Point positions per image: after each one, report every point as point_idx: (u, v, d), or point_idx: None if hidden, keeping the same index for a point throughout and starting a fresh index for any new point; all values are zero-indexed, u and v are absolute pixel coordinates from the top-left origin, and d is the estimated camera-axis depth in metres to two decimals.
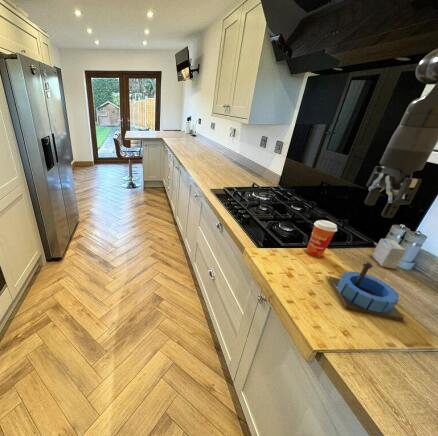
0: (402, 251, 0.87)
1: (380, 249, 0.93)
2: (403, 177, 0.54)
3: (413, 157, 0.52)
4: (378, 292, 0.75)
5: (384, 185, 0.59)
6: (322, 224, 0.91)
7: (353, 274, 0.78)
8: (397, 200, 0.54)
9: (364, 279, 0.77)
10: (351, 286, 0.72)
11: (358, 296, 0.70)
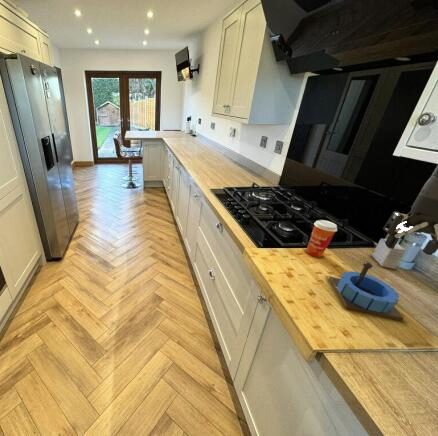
0: (402, 251, 0.87)
1: (380, 249, 0.93)
2: None
3: (418, 199, 0.61)
4: (378, 292, 0.75)
5: None
6: (322, 224, 0.91)
7: (353, 274, 0.78)
8: None
9: (364, 279, 0.77)
10: (351, 286, 0.72)
11: (358, 296, 0.70)
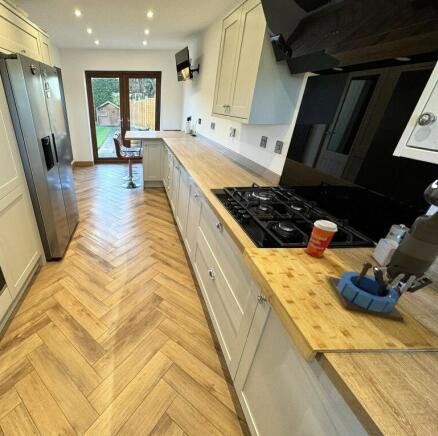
0: None
1: (380, 249, 0.93)
2: (385, 266, 0.70)
3: (396, 253, 0.68)
4: None
5: None
6: (322, 224, 0.91)
7: (353, 274, 0.78)
8: None
9: (364, 279, 0.77)
10: (351, 286, 0.72)
11: (358, 296, 0.70)
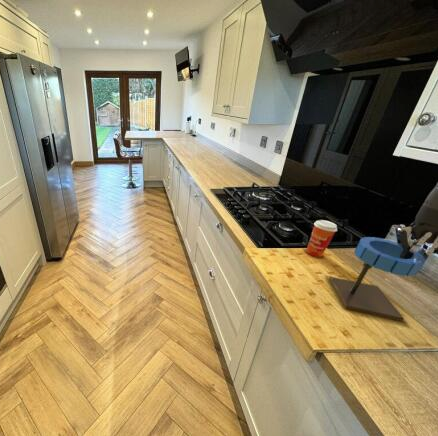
0: None
1: None
2: (409, 226, 0.64)
3: (422, 210, 0.62)
4: None
5: None
6: (322, 224, 0.91)
7: (372, 239, 0.72)
8: None
9: (384, 244, 0.71)
10: (371, 249, 0.66)
11: (380, 259, 0.64)
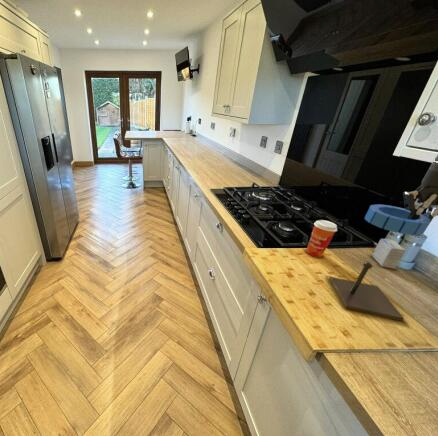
0: (402, 251, 0.87)
1: (380, 249, 0.93)
2: (416, 190, 0.70)
3: (428, 174, 0.67)
4: None
5: None
6: (322, 224, 0.91)
7: (381, 206, 0.78)
8: None
9: (392, 210, 0.77)
10: (381, 213, 0.72)
11: (389, 221, 0.70)
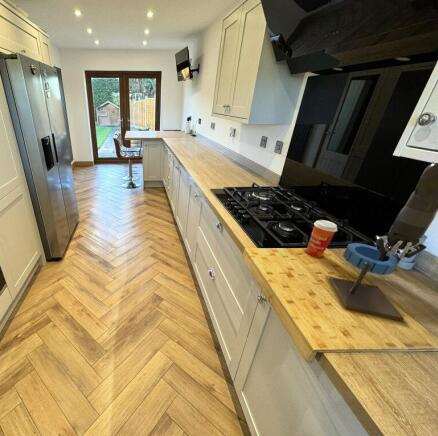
0: None
1: None
2: None
3: (395, 222, 0.78)
4: None
5: None
6: (322, 224, 0.91)
7: (357, 245, 0.88)
8: None
9: (367, 249, 0.88)
10: (356, 253, 0.83)
11: (362, 261, 0.81)
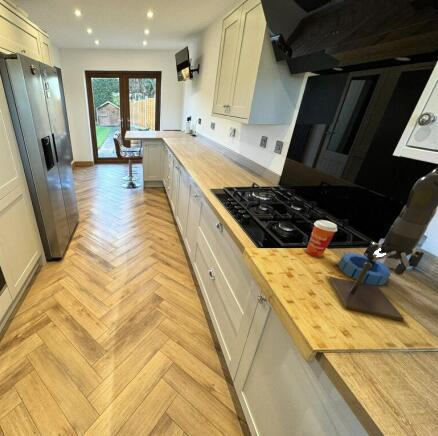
0: None
1: None
2: (381, 244, 0.82)
3: (389, 233, 0.80)
4: (374, 269, 0.87)
5: None
6: (322, 224, 0.91)
7: (352, 255, 0.90)
8: None
9: (361, 259, 0.90)
10: (350, 264, 0.85)
11: (356, 272, 0.83)
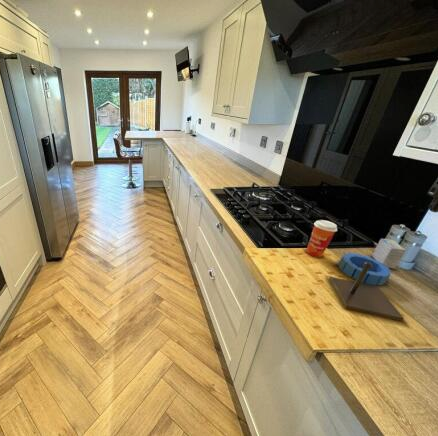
0: (402, 251, 0.87)
1: (380, 249, 0.93)
2: None
3: None
4: (374, 269, 0.87)
5: None
6: (322, 224, 0.91)
7: (352, 255, 0.90)
8: None
9: (361, 259, 0.90)
10: (350, 264, 0.85)
11: (356, 272, 0.83)
